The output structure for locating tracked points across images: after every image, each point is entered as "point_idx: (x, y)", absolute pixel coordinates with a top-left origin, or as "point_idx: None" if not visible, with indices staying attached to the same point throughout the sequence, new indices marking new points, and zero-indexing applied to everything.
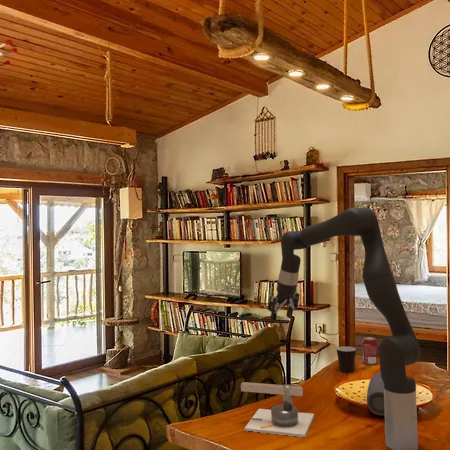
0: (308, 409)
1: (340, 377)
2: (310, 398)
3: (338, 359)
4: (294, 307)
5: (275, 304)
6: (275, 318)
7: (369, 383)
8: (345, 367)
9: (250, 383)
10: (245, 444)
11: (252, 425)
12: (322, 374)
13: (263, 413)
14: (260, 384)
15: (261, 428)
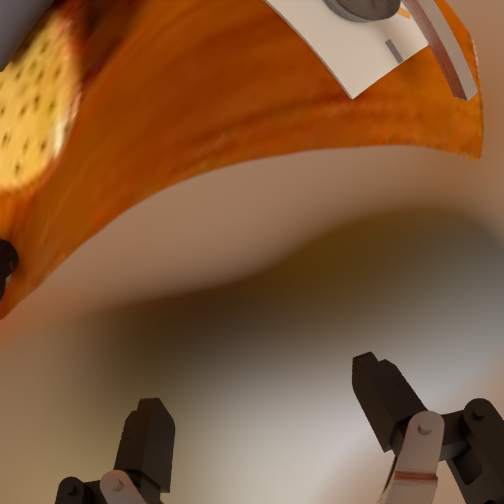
0: (224, 30)
1: (24, 221)
2: (161, 102)
3: (7, 276)
4: (101, 487)
5: (502, 482)
6: (379, 374)
7: (21, 12)
8: (4, 250)
9: (462, 74)
10: (448, 7)
11: (415, 37)
12: (54, 257)
13: (362, 66)
14: (449, 43)
15: (409, 13)
